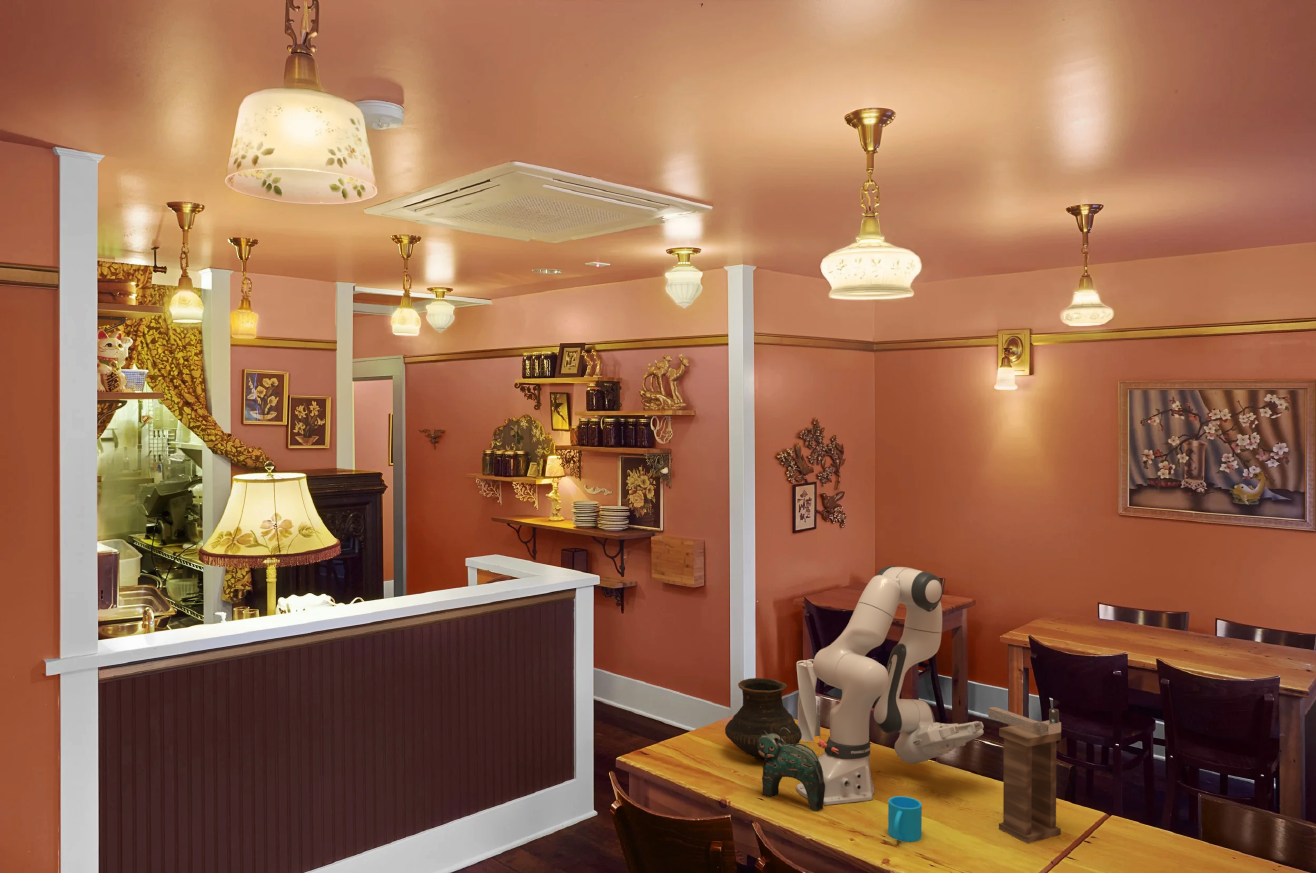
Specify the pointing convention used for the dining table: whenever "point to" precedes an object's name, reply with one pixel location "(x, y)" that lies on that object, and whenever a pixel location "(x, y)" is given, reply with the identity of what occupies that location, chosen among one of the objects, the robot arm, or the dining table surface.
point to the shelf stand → (1029, 785)
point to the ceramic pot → (761, 716)
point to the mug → (904, 819)
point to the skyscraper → (807, 701)
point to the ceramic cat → (791, 767)
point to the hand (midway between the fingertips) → (968, 727)
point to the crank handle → (1028, 721)
